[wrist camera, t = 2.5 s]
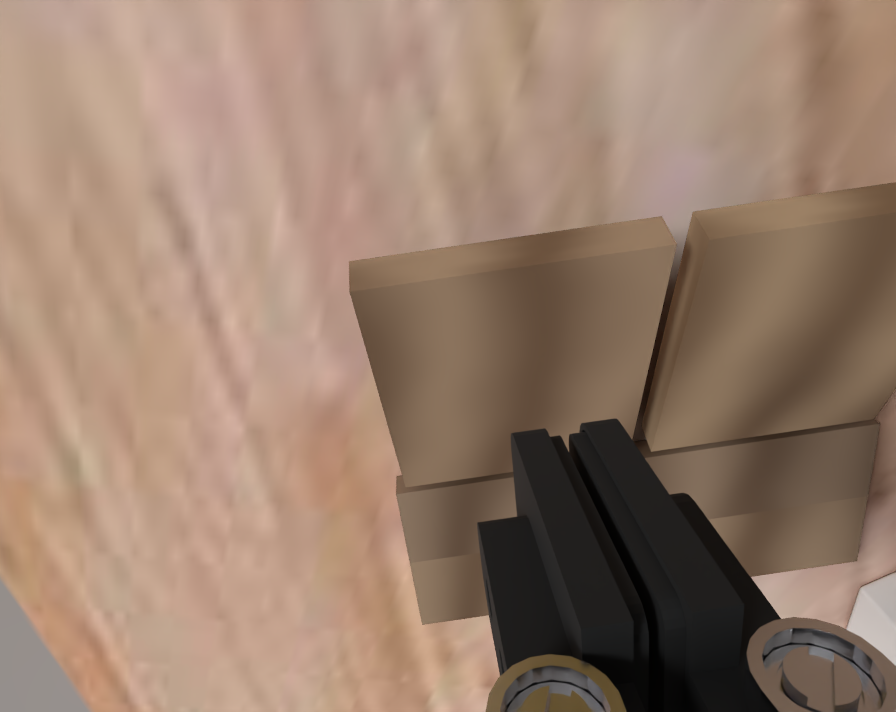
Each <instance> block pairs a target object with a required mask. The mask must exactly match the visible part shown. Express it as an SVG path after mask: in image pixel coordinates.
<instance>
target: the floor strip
mask: <svg viewBox="0 0 896 712" xmlns="http://www.w3.org/2000/svg"><path fill="white" fill-rule="evenodd" d="M879 428H880V423H878V422H877V421H876V420H874V419H873V420H866V421H859V422H852V423H845V424H838V425H831V426H825V427H818V428H811V429H804V430H797V431H790V432H783V433H777V434H770V435H763V436H756V437H749V438H742V439H735V440H729V441H722V442H715V443H708V444H701V445H694V446H687V447H681V448H674V449H667V450H660V451H653V452H651V450H650V448H649V445H648V442H647V440H643V441H636V442H634V443H635V445H636V446H637V448H638V449H639V451H640V452H641V454H642V455H643V456H644V458H645V459H646V461H647V462H648V464H649V465H650V467H651V468H652V470H653V471H654V473H655V474H656V476H657V477H658V478H659V480H660V481H661V483H662V484H663V486H664V487H665V489H666V490H667V492H668V493H669V495H670V494H677V493H686V494H689V495H690V497H691V498H692V499H693V500H694V501H695V502H696V503H697V505H698V506H699V508H700V509H701V510H702V512H703V513H704V514H705V516H706V517H707V519H708V520H709V521H710V523H711V524H712V525H713V527H714V528H715V529H716V531H717V532H718V534H719V535H720V536H721V538H722V539H723V540H724V542H725V543H726V544H727V546H728V547H729V549H730V550H731V551H732V553H733V554H734V555H735V557H736V558H737V559H738V561H739V562H740V564H741V565H742V566H743V568H744V569H745V570H746V572H747V573H748V574H749V576H750V577H752V576H759V575H766V574H773V573H780V572H786V571H793V570H800V569H807V568H814V567H821V566H827V565H834V564H841V563H848V562H855V561H857V558H858V552H859V546H860V540H861V534H862V528H863V522H864V516H865V511H866V505H867V499H868V493H869V487H870V481H871V475H872V469H873V463H874V457H875V451H876V445H877V439H878V434H879ZM396 496H397V501H398V506H399V511H400V516H401V521H402V526H403V531H404V536H405V541H406V546H407V551H408V556H409V561H410V566H411V571H412V576H413V581H414V586H415V591H416V596H417V601H418V606H419V611H420V616H421V621H422V625H425V624H431V623H438V622H445V621H452V620H459V619H466V618H472V617H479V616H486V615H489V612H488V606H487V600H486V593H485V587H484V580H483V573H482V565H481V557H480V548H479V540H478V530H477V522H484V521H490V520H497V519H504V518H511V517H517V510H516V499H515V487H514V475H513V472H509V473H502V474H495V475H489V476H482V477H475V478H468V479H461V480H454V481H447V482H441V483H434V484H427V485H420V486H413V487H405V483H404V480H403V476H397V480H396Z"/></svg>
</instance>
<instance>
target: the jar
mask: <svg viewBox="0 0 896 712" xmlns="http://www.w3.org/2000/svg"><path fill="white" fill-rule="evenodd" d="M846 630H848V631H850V632H852V633H854V634H856V635H858V636H860V637H862V638H863V639H864V640H866V641H867V642H868V643H870V644H871V645H872V646H874V647H875V648H876V649H878V650H879V651H880V652H881V653H883V654H884V655H885V656H886V657H887V658H888V659H889V660H890V661H891V662H892V663H893V664H894V665H895V666H896V572H894V573H892V574H889V575H887V576H885V577H883V578H880V579H878V580H876V581H873V582H871V583H869V584H867V585H864V586H862V587H861V588H860V590H859V593H858V596H857V598H856V601H855V604H854V607H853V610H852V613H851V616H850V619H849V622H848V625H847V628H846Z"/></svg>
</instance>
